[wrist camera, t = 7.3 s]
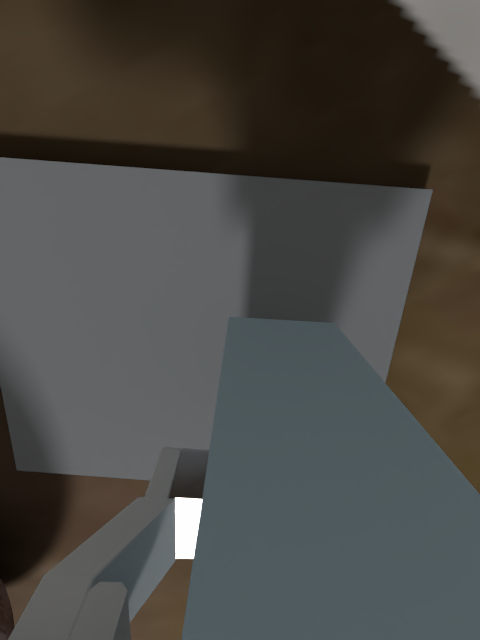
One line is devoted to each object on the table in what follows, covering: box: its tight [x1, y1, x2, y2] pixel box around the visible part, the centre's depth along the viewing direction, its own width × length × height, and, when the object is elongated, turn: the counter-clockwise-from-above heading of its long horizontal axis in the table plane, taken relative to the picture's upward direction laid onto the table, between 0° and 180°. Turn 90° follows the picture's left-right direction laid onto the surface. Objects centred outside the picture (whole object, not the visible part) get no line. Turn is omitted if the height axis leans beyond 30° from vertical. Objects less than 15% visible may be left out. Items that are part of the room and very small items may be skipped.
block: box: [182, 317, 480, 640], centre depth 7 cm, size 4×7×9 cm, turn 177°
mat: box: [0, 157, 433, 480], centre depth 15 cm, size 18×15×1 cm
